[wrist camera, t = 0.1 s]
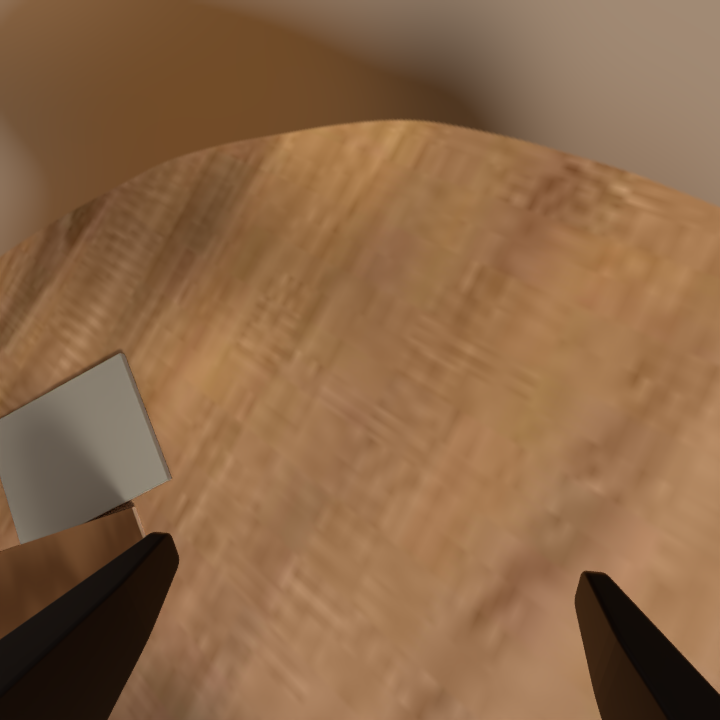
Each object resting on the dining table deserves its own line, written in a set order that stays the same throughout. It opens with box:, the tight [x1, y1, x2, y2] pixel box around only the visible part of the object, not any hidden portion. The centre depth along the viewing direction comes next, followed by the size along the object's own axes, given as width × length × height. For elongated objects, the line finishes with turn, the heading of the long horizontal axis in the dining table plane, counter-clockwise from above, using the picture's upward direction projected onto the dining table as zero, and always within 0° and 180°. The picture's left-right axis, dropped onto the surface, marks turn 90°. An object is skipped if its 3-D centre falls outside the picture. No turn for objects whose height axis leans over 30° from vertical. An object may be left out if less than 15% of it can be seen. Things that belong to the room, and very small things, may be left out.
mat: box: [0, 353, 172, 544], centre depth 27 cm, size 9×11×1 cm
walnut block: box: [0, 507, 146, 639], centre depth 20 cm, size 5×5×10 cm
